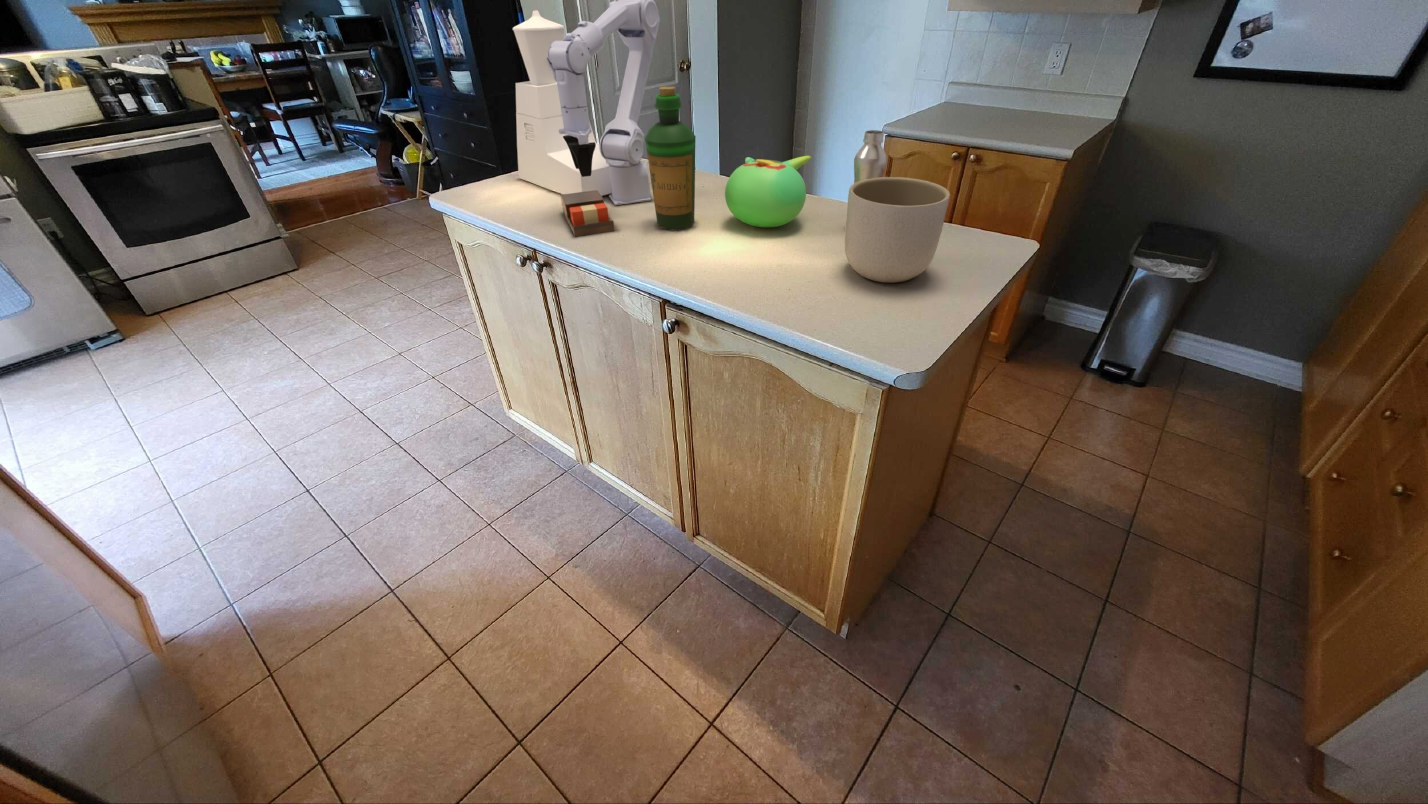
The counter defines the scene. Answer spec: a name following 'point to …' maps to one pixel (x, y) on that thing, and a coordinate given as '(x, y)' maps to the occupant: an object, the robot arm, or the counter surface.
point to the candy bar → (589, 214)
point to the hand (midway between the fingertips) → (583, 172)
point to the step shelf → (583, 200)
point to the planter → (893, 227)
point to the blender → (548, 119)
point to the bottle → (672, 164)
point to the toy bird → (766, 191)
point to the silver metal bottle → (870, 157)
